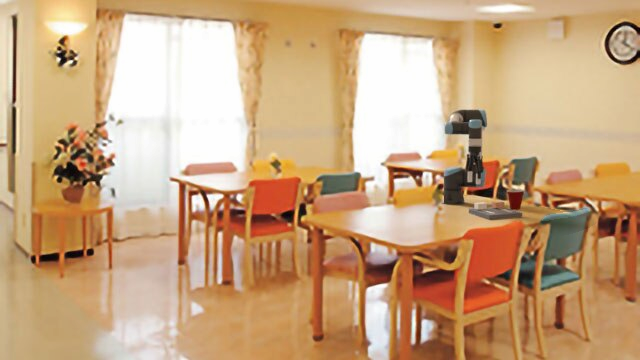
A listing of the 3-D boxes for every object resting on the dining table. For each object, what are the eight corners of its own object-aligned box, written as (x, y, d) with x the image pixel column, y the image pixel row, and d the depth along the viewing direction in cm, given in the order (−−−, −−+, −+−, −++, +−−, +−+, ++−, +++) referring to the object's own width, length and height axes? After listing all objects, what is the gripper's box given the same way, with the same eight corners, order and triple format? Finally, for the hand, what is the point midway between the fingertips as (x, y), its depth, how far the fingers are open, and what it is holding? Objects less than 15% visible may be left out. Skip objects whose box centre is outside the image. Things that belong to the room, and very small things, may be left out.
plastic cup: (513, 206, 406) (514, 188, 405) (527, 209, 397) (528, 190, 396) (501, 208, 400) (502, 189, 399) (515, 211, 391) (516, 191, 390)
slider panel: (468, 212, 388) (468, 208, 387) (500, 210, 394) (500, 205, 394) (489, 219, 367) (489, 214, 367) (522, 217, 374) (522, 212, 373)
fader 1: (474, 208, 385) (474, 202, 385) (483, 207, 387) (483, 202, 386) (477, 209, 381) (478, 203, 381) (486, 209, 383) (487, 203, 383)
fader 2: (491, 207, 389) (492, 201, 388) (500, 206, 391) (500, 200, 390) (495, 208, 385) (495, 202, 385) (504, 207, 387) (504, 202, 386)
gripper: (460, 144, 396) (459, 181, 399) (479, 147, 375) (478, 185, 379) (470, 144, 398) (470, 180, 401) (490, 146, 378) (489, 185, 381)
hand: (474, 183), depth 390 cm, fingers open, 9 cm apart
